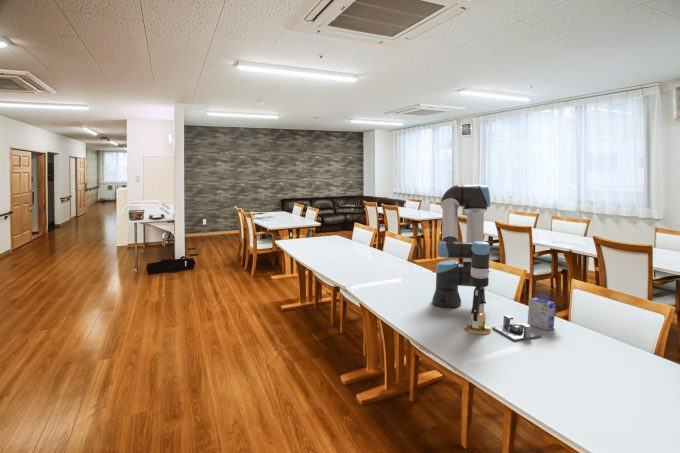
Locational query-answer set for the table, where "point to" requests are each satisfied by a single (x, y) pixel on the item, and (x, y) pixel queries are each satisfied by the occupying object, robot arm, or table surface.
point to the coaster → (477, 331)
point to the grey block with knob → (516, 330)
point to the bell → (481, 323)
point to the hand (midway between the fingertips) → (478, 322)
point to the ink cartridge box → (541, 313)
